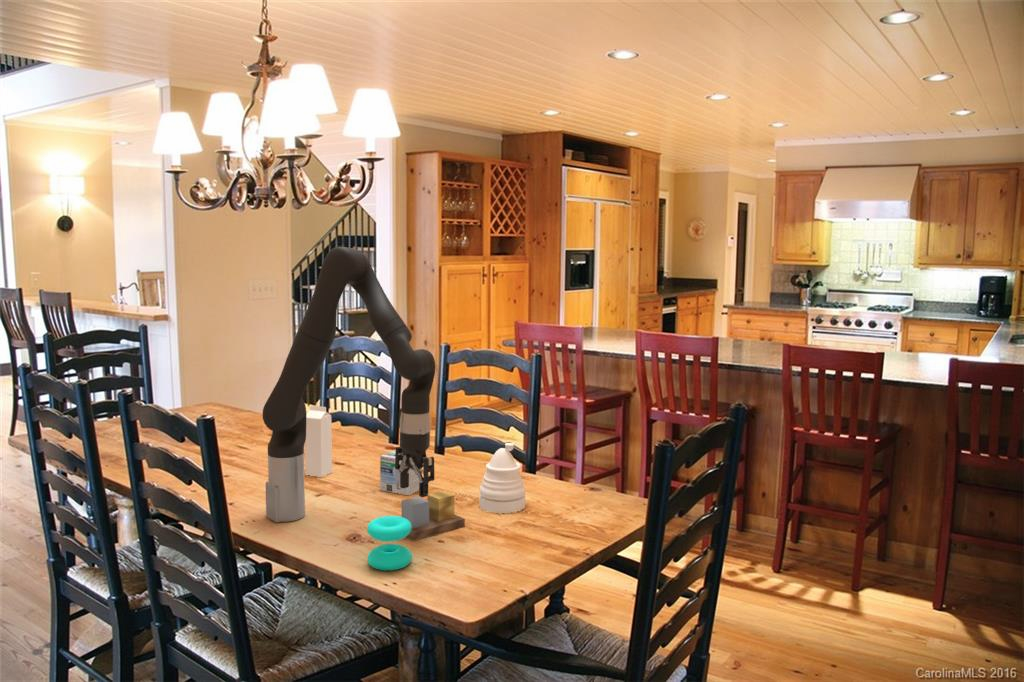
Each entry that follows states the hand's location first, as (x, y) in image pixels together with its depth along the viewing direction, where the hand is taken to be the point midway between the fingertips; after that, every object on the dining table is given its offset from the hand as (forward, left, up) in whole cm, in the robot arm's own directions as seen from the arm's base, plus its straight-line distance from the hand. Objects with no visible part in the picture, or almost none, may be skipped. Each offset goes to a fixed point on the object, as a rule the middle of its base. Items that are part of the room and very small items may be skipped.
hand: (413, 492), depth 197 cm
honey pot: (+30, +1, -11) cm, 32 cm away
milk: (+5, +61, -11) cm, 62 cm away
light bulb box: (+16, +31, -11) cm, 37 cm away
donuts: (-16, -13, -11) cm, 23 cm away
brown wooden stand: (+4, 0, -11) cm, 11 cm away
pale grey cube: (0, 0, -9) cm, 9 cm away
